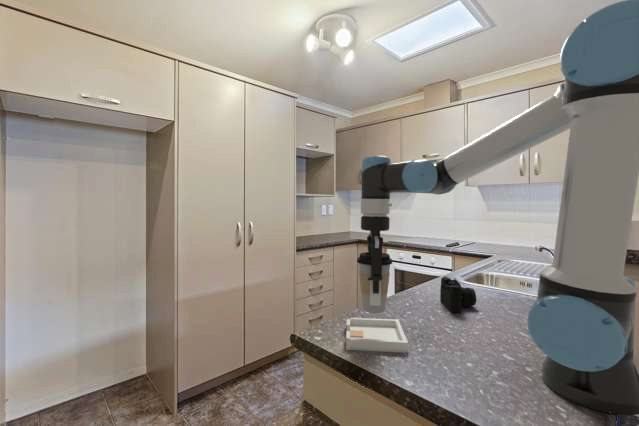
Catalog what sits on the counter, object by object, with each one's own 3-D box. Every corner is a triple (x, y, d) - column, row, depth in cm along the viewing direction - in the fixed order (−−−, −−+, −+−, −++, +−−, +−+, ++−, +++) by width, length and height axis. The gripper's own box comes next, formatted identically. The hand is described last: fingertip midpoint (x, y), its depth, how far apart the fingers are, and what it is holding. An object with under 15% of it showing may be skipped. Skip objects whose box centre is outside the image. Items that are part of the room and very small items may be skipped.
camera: (482, 315, 100) (483, 284, 100) (448, 313, 101) (449, 283, 101) (467, 301, 114) (467, 275, 114) (437, 300, 115) (438, 274, 115)
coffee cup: (379, 302, 89) (380, 250, 88) (399, 313, 80) (399, 256, 79) (350, 306, 85) (350, 252, 85) (367, 318, 76) (368, 258, 76)
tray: (407, 352, 74) (408, 342, 74) (346, 349, 76) (346, 339, 76) (398, 328, 89) (398, 319, 89) (346, 325, 91) (346, 317, 91)
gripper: (395, 217, 71) (393, 314, 72) (385, 214, 92) (383, 289, 92) (362, 217, 72) (361, 312, 73) (359, 213, 92) (358, 288, 93)
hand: (373, 299), depth 82 cm, fingers closed on coffee cup, 8 cm apart
